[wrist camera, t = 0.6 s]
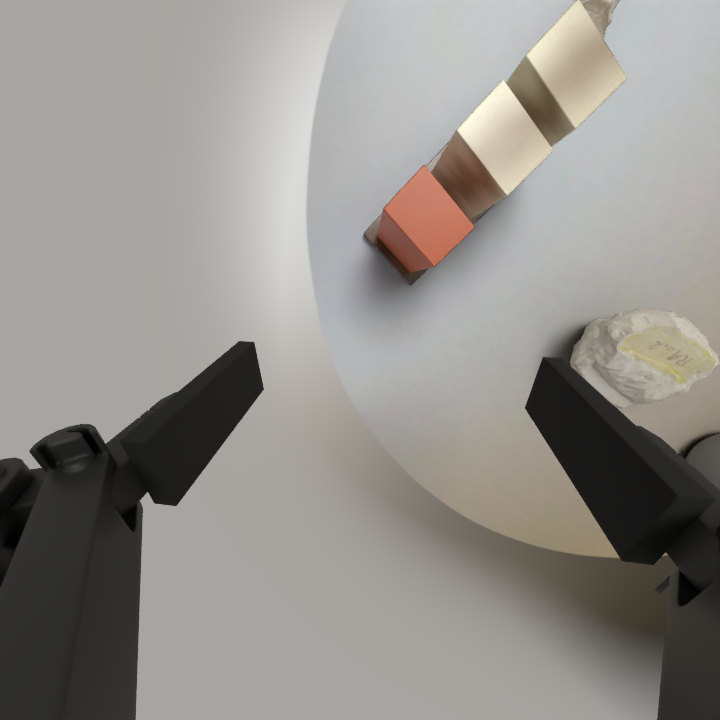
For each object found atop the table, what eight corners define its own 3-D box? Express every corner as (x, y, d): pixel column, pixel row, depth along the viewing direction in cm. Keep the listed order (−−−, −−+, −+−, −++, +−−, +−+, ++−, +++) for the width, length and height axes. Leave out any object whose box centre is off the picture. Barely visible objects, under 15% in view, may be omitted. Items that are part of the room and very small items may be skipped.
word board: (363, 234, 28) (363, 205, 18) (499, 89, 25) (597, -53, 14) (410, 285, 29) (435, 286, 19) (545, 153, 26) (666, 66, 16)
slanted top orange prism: (376, 235, 27) (383, 208, 18) (402, 207, 27) (424, 163, 17) (410, 272, 28) (434, 267, 19) (436, 246, 28) (475, 227, 18)
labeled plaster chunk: (636, 399, 33) (659, 313, 31) (735, 430, 24) (775, 315, 23) (540, 393, 32) (558, 304, 30) (610, 424, 23) (641, 303, 22)
